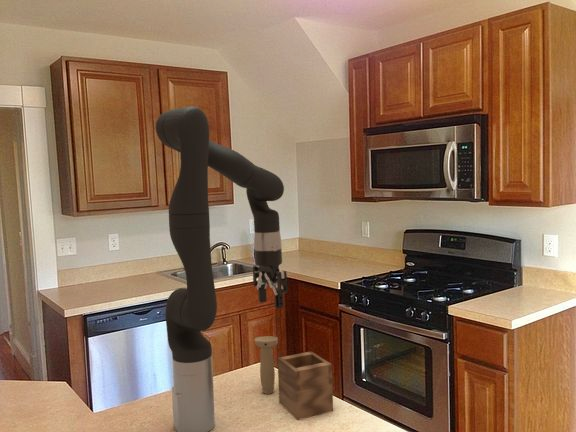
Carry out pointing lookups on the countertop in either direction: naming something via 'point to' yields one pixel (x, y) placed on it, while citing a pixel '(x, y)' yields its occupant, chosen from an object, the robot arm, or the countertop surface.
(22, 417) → the countertop surface
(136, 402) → the countertop surface
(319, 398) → the wooden box
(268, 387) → the handle
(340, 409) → the countertop surface
